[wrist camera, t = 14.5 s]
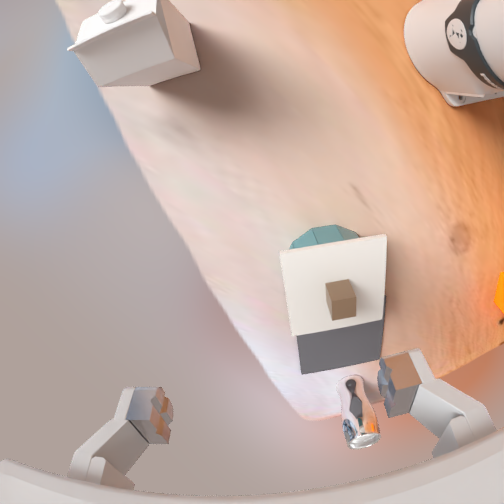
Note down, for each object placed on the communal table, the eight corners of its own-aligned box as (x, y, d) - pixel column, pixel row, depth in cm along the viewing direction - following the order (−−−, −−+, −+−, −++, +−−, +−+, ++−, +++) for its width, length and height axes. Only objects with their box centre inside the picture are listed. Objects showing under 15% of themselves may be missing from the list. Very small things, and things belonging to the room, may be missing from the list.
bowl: (366, 219, 45) (380, 237, 39) (366, 291, 51) (377, 314, 45) (278, 233, 46) (282, 254, 40) (289, 305, 52) (293, 330, 46)
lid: (384, 233, 39) (398, 251, 35) (380, 316, 46) (390, 337, 41) (278, 251, 40) (282, 271, 36) (291, 332, 47) (294, 355, 43)
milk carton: (201, 70, 35) (162, 53, 18) (148, 86, 35) (76, 89, 19) (189, 21, 31) (143, -26, 15) (136, 39, 32) (60, 13, 15)
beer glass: (329, 381, 62) (342, 441, 49) (360, 369, 60) (378, 428, 47) (339, 396, 65) (351, 453, 52) (368, 385, 63) (384, 440, 50)
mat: (384, 294, 51) (386, 296, 51) (378, 357, 59) (379, 359, 58) (293, 311, 52) (293, 314, 52) (301, 372, 60) (301, 374, 59)
